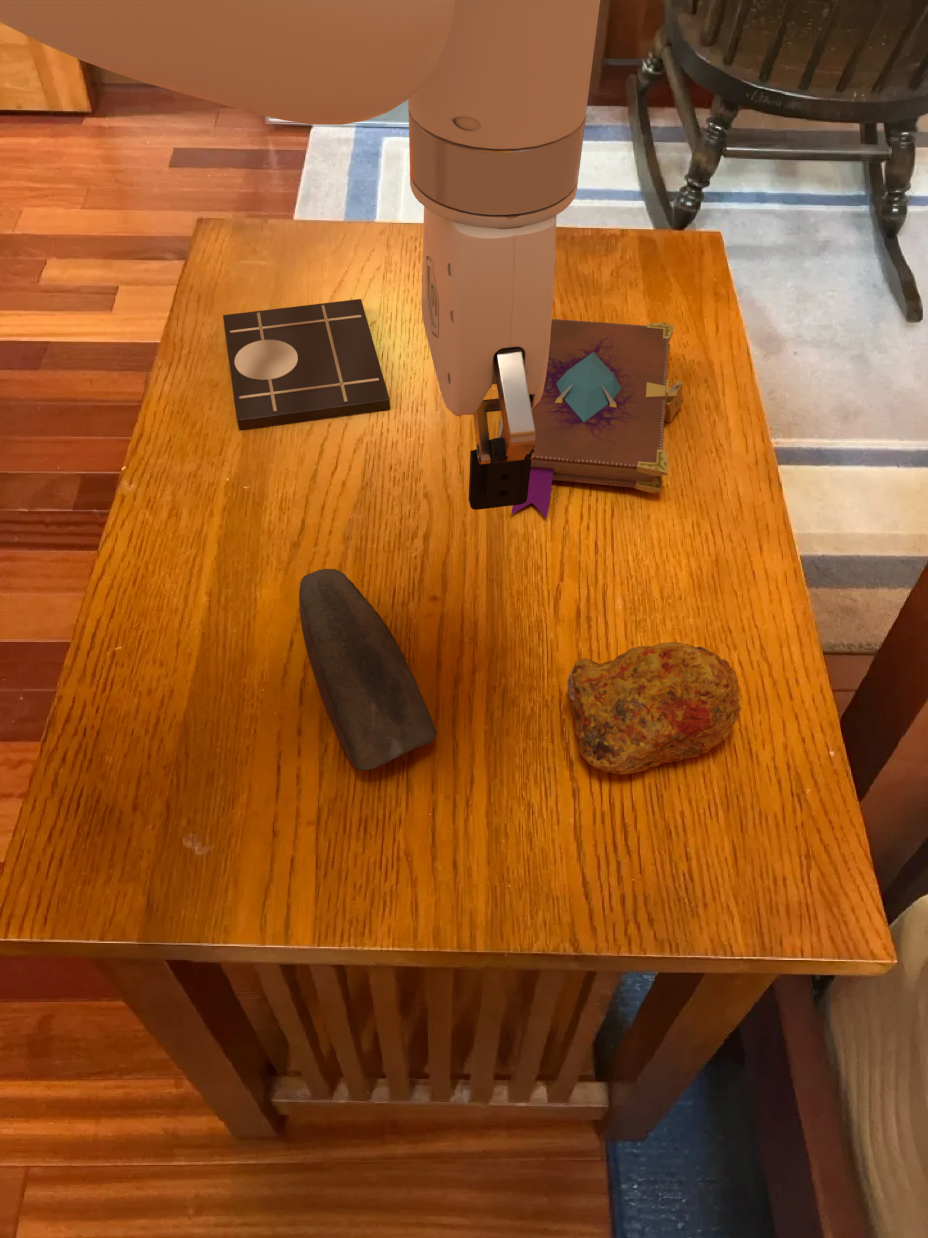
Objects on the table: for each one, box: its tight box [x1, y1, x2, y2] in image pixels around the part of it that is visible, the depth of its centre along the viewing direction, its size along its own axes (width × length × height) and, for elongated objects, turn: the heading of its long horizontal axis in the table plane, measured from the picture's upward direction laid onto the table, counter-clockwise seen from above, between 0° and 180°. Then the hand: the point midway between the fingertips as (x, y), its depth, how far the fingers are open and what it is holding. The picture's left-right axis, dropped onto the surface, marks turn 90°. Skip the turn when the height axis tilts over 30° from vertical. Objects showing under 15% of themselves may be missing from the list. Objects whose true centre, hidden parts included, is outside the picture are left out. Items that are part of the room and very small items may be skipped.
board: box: [222, 298, 391, 431], centre depth 90 cm, size 14×16×1 cm
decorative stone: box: [298, 568, 438, 771], centre depth 67 cm, size 17×6×4 cm, turn 25°
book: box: [497, 318, 684, 519], centre depth 84 cm, size 16×25×5 cm, turn 171°
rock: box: [566, 641, 742, 775], centre depth 65 cm, size 11×8×10 cm
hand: (480, 443), depth 54 cm, fingers open, 9 cm apart
